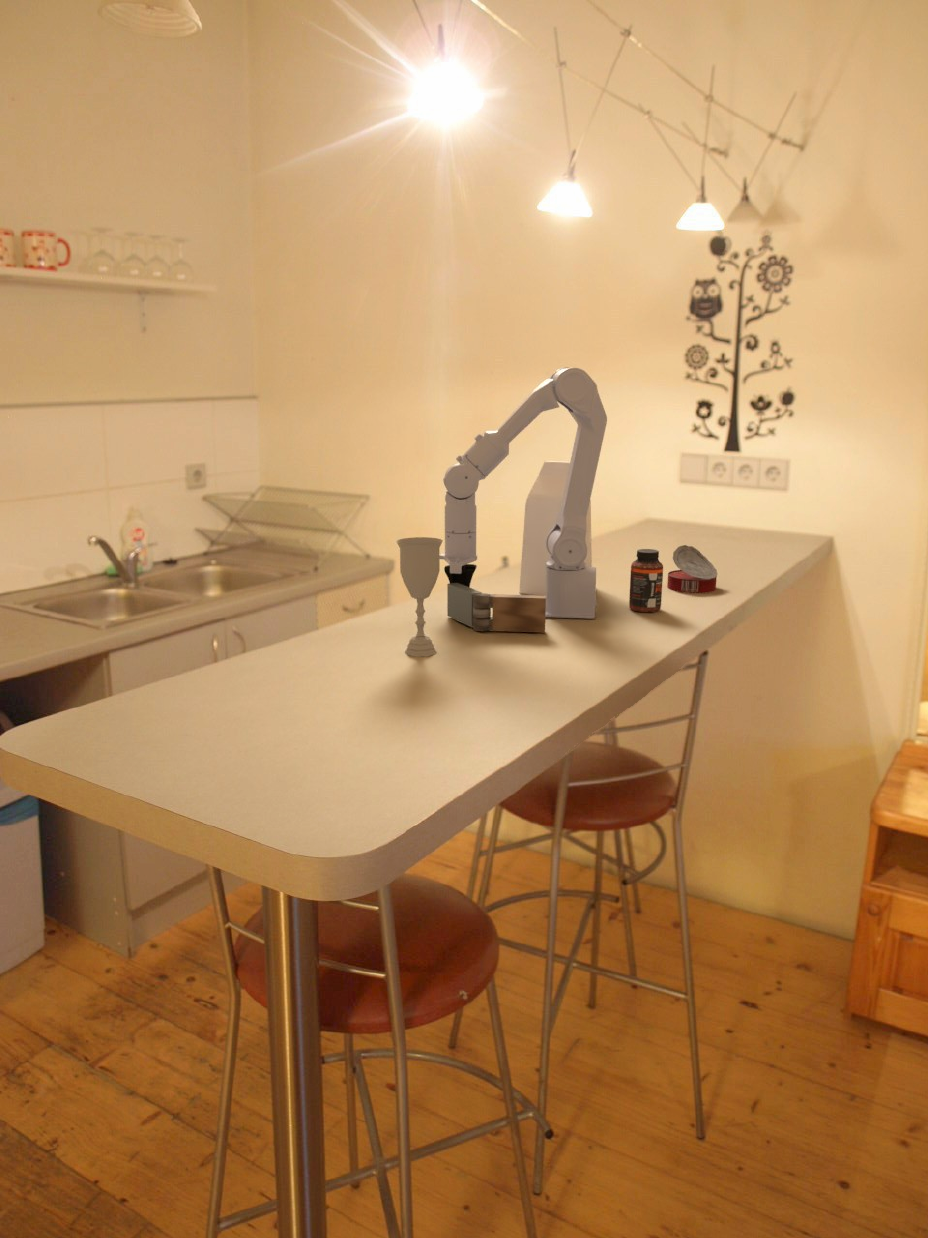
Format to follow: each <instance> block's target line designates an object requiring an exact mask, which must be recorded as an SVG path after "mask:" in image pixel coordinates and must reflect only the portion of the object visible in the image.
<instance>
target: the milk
mask: <svg viewBox="0 0 928 1238" xmlns="http://www.w3.org/2000/svg"><path fill="white" fill-rule="evenodd" d="M569 466H570V461H560V460H559V461H558V460H557V461H553V460H546V461H545V460H544V462H543V464H542V466H541V469H540V470H539V473H538V475H537V476H536V478H535V481H534V483H533V485H532V486H531V489H530V490H529V493H528V494H527V497H526V500H525V505H524V518H523V534H522V550H521V562H520V563H521V564H520V577H519V594H523V595H539V596H545V591H546V563H547V562H548V561H549V559H550V557H551V556H552V555H551V554H550V553H549V552H548V550H547V547H546V540H547V537H548V535H549V533H550V532H551V531H552V530H553V528H554V526H555V522H556V518H557V516H558V514H559V512H560V509H561V504H562V499H563V494H564V490H565V485H566V480H567V475H568V471H569ZM591 500H592V499H590V502H589V507H588V512H587V516H586V525H587V531H586V536H585V541H586V545H587V556H586V558H585V560H584V562H585V563H586V567H593V562H592V559H593V557H592V556H593V554H592V553H593V551H592V506H591V505H592V504H591V503H592V501H591Z"/></svg>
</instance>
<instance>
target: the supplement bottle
mask: <svg viewBox="0 0 928 1238" xmlns="http://www.w3.org/2000/svg"><path fill="white" fill-rule="evenodd" d="M659 552H660V551H659V550H657V549H655V548H653V549H651V548H641V549H637V551H636V559H635V560H634V561H632V563H631V566H630V578H629V579H630V581H629V596H628V597H629V600H628V601H629V602H628V604H629V609H630V610H632V611H634V612H639V613H656V612H658V611H660V610H661V608H662V602H663V601H662V597H663V579H664V578H663V577H664V564H663V562H660V559H659V557H660V553H659Z"/></svg>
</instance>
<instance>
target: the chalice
mask: <svg viewBox="0 0 928 1238" xmlns="http://www.w3.org/2000/svg"><path fill="white" fill-rule="evenodd" d="M443 542H444V541H443V539H441V538H437V537H428V536H427V537H423V536H420V537H419V536H417V537H415V536H414V537H404V538H401V539H397V540H396V543H397V545H398V547H399V558H400V559H399V564H400V565H399V566H400V568H399V570H400V575H401V578H402V581H403V583H404V586H405V588H406V589H407V592H408V593H409V595H410V597H411V598H412V599H415V600H416V603H417V606H416V609H415V610H414V612H415V613H416V616H417V618H416V621H414V623H415V625H416V628H417V630H416V631H417V632H416V633H415V636H412V637H411V638H410V639H409V641H408V644H407V647H406V649H405V651H404V654H406V655H408V656H411V657H429V656H433V655H435V654H437V650H436V648H435V645H434V643H433V640H432V639H431V637H430V636H427V635H426V634H425V630H424V628H425V625H426V623H427V622H426V621H425V618H424V615H425V612H426V609H425V607H424V601H425V599H427V598H428V599H429V598H430V596H431V593H432V591H433V589H434V588H435V586H436V582H437V580H438V578H439V573H440V570H441V569H440V567H441V566H440V560H441V559H440V554H441V553H440V549H441V548H440V547H441V546H442V543H443Z"/></svg>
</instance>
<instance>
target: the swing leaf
mask: <svg viewBox="0 0 928 1238" xmlns="http://www.w3.org/2000/svg"><path fill="white" fill-rule="evenodd" d="M446 585H447V586H446V587H447V593H446V594H447V604H446V605H447V607H446V608H447V617H449V618H452V619H453V620H455V621H457V622H459V623H462V624H464V625H466V626H468V627H470V628H473V617H476V618H489V617H492V615H491V614H492V611H491V609H492V608H485V609H480V608H474V607H473V595H474V594H477V593H483V592H482V591H479V590H478V589H474V588H472V587H470V588H469V587H467V586H464V585H462V584H459V583H450V582H448V583H447V584H446Z"/></svg>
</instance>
